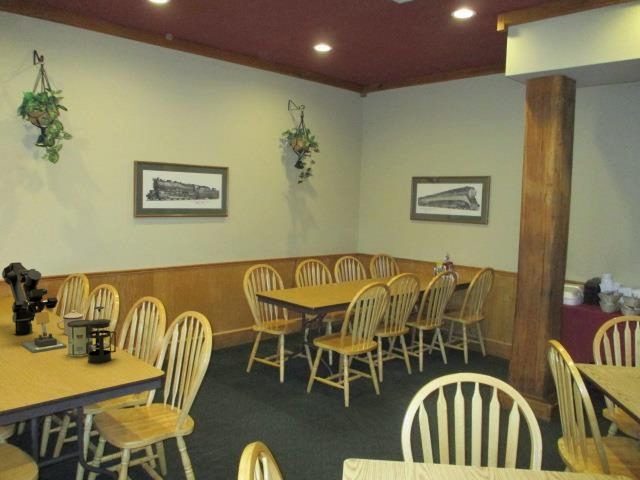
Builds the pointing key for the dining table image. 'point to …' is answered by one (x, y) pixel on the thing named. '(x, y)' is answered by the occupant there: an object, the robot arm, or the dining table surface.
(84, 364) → the dining table surface
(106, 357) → the french press
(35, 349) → the switch board
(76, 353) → the coffee can
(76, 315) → the teacup with lid
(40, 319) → the lever
